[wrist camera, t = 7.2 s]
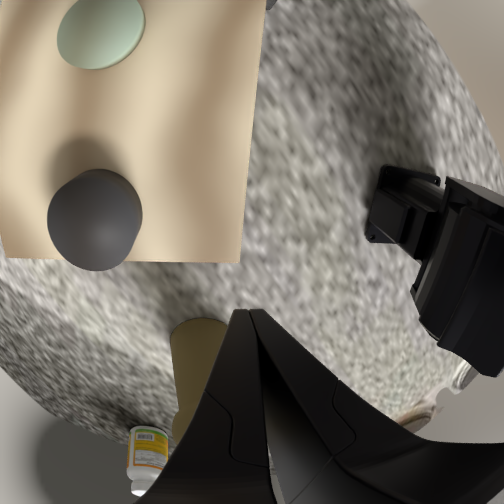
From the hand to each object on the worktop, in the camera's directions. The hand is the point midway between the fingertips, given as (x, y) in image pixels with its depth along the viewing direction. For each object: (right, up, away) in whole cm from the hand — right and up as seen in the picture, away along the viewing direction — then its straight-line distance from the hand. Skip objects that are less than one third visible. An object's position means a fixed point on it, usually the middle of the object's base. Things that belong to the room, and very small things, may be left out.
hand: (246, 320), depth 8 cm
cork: (-4, -6, +18) cm, 19 cm away
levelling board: (-8, +10, +5) cm, 14 cm away
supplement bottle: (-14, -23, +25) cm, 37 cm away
